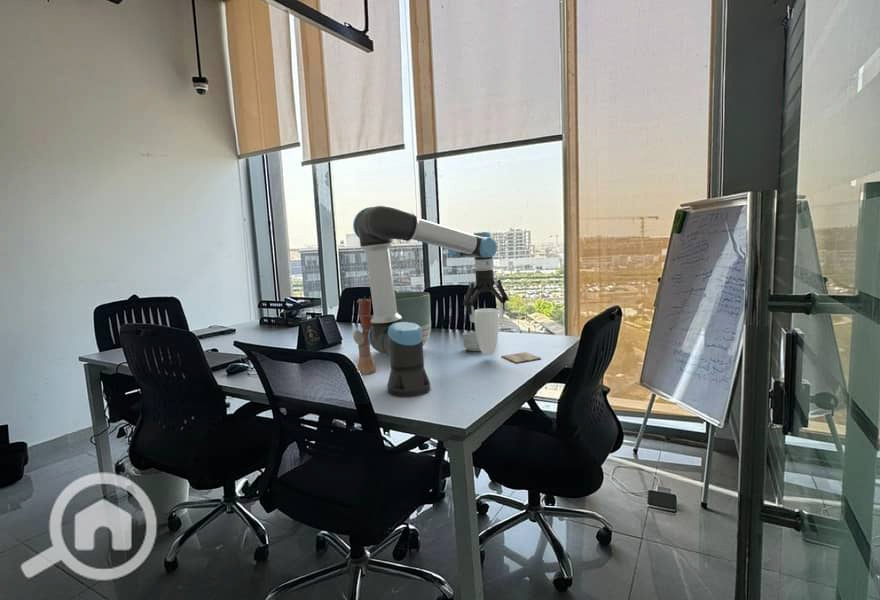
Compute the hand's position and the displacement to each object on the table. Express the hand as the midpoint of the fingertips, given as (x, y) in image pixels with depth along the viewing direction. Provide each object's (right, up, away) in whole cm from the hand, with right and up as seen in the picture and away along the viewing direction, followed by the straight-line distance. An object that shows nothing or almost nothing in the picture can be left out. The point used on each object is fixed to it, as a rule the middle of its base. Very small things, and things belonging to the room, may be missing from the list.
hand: (486, 320), depth 202 cm
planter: (-36, -16, +25) cm, 47 cm away
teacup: (-3, -15, +20) cm, 25 cm away
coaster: (+15, -16, +2) cm, 22 cm away
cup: (+1, -17, +2) cm, 17 cm away
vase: (-49, -21, -6) cm, 53 cm away
